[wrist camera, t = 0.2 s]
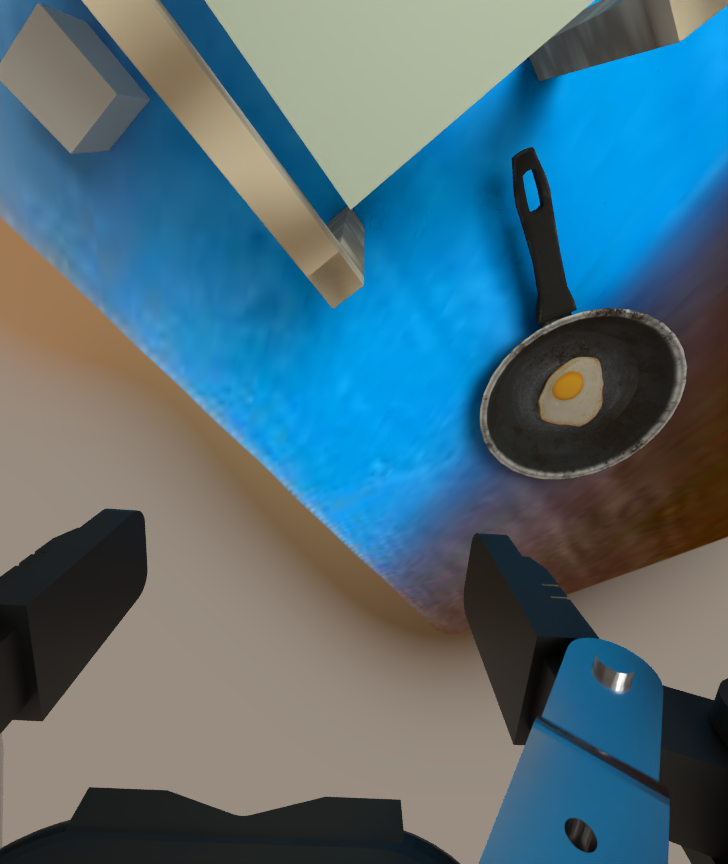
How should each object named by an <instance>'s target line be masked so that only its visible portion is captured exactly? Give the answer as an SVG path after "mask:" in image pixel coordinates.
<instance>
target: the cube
mask: <svg viewBox="0 0 728 864" xmlns="http://www.w3.org/2000/svg"><path fill="white" fill-rule="evenodd" d="M0 81H1V82H2V83H3V84H4V85H5V86H6V87H7V88H8V89H9V90H10V91H11V92H12V93H13V94H14V95H15V97H16V98H17V99H18V100H19V101H20V102H21V103H22V104H23V105H24V106H25V107H26V108H27V109H28V110H29V111H30V112H31V113H32V114H33V115H34V116H35V117H36V118H37V119H38V120H39V121H40V122H41V123H42V124H43V125H44V127H45V128H46V129H47V130H48V131H49V132H50V133H51V134H52V135H53V136H54V137H55V138H56V139H57V140H58V141H59V142H60V143H61V144H62V145H63V146H64V147H65V148H66V149H67V150H68V151H69V152H70V153H71V154H75V153H89V152H103V151H109V150H110V149H111V147H112V146H113V145H114V144H115V142H116V141H117V140H118V139H119V137H120V136H121V135H122V134H123V133H124V131H125V130H126V129H127V128H128V126H129V125H130V124H131V123H132V121H133V120H134V119H135V118H136V117H137V115H138V114H139V113H140V112H141V110H142V109H143V108H144V107H145V105H146V104H147V103H148V102H149V101H150V98H149V97H148V96H147V95H146V93H145V92H144V91H143V90H142V89H141V87H140V86H139V85H138V84H137V83H136V81H135V80H134V79H133V78H132V76H131V75H130V74H129V73H128V72H127V70H126V69H125V68H124V67H123V66H122V64H121V63H120V62H119V61H118V60H117V58H116V57H115V56H114V55H113V54H112V52H111V51H110V50H109V49H108V47H107V46H106V45H105V44H104V43H103V41H102V40H101V39H100V38H99V37H98V35H97V34H96V33H95V32H94V31H93V29H92V28H91V27H90V26H89V25H88V23H87V22H86V21H84V20H81V19H79V18H76V17H74V16H71V15H69V14H66V13H64V12H61V11H59V10H56V9H54V8H51V7H49V6H46V5H44V4H41V3H39V2H38V4H37V5H36V7H35V8H34V10H33V12H32V13H31V15H30V16H29V18H28V20H27V21H26V23H25V24H24V26H23V27H22V29H21V31H20V32H19V34H18V35H17V37H16V39H15V40H14V42H13V43H12V45H11V47H10V48H9V50H8V51H7V53H6V54H5V56H4V58H3V59H2V61H1V62H0Z"/></svg>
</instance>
